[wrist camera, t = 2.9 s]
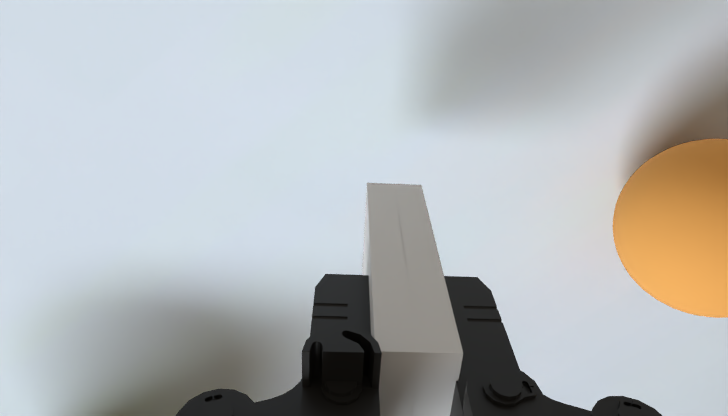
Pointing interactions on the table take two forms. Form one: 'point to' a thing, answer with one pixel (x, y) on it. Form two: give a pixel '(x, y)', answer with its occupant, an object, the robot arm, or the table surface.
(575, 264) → the table surface
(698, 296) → the ball
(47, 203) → the table surface
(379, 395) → the robot arm
